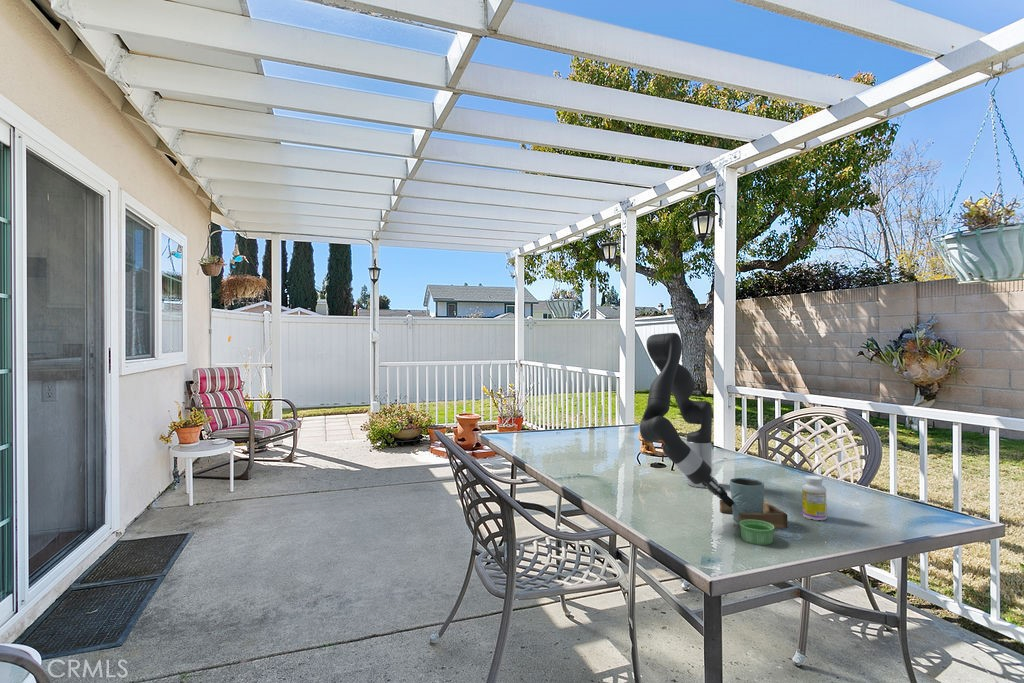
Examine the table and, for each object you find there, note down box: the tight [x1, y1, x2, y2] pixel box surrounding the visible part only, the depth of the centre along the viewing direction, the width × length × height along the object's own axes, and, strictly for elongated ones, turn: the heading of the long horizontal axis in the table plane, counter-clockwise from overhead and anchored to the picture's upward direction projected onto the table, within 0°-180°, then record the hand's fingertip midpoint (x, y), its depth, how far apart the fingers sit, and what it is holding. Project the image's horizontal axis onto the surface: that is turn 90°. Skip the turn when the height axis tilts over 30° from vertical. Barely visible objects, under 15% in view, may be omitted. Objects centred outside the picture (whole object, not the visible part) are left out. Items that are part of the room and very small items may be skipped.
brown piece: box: [719, 499, 789, 529], centre depth 161 cm, size 15×14×4 cm
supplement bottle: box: [801, 475, 828, 521], centre depth 162 cm, size 7×7×13 cm
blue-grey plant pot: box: [729, 477, 765, 523], centre depth 161 cm, size 10×10×12 cm
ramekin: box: [738, 519, 775, 546], centre depth 144 cm, size 9×9×4 cm
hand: (731, 504), depth 161 cm, fingers closed
